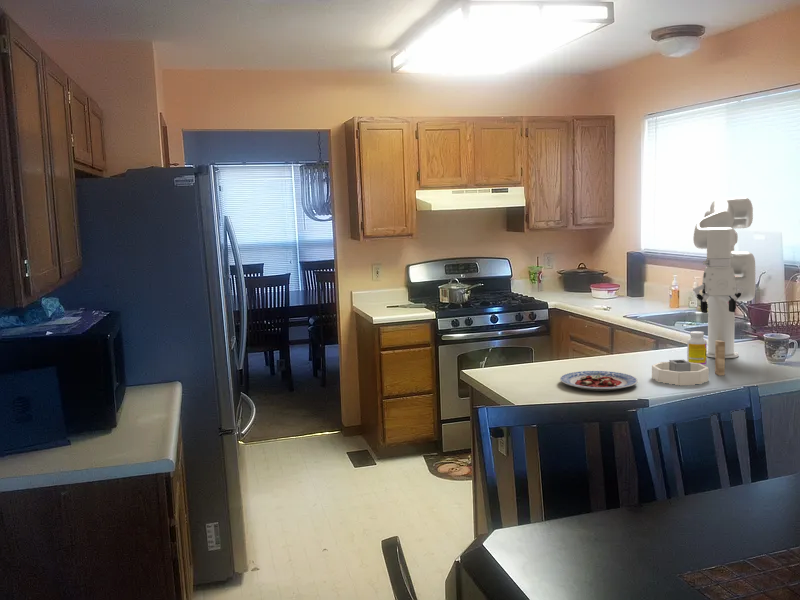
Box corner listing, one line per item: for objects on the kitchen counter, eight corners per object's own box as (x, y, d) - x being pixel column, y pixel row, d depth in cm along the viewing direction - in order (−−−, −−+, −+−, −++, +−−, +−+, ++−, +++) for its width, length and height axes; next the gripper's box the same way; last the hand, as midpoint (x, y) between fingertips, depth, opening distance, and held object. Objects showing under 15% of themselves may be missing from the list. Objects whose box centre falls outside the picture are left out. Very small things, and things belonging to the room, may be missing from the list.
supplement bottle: (708, 367, 250) (708, 333, 249) (689, 367, 252) (689, 333, 250) (704, 363, 257) (704, 330, 255) (685, 363, 258) (685, 330, 257)
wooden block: (715, 373, 241) (715, 340, 239) (720, 373, 241) (721, 340, 239) (718, 375, 238) (719, 342, 236) (724, 375, 238) (724, 341, 236)
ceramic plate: (637, 396, 216) (637, 387, 216) (555, 392, 225) (555, 383, 225) (638, 378, 240) (638, 370, 240) (564, 375, 249) (564, 367, 249)
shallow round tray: (647, 374, 244) (646, 357, 243) (694, 372, 243) (694, 355, 242) (664, 386, 227) (663, 367, 226) (715, 384, 226) (715, 365, 225)
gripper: (698, 264, 231) (698, 314, 233) (748, 263, 231) (748, 312, 233) (689, 264, 239) (688, 311, 240) (738, 262, 239) (737, 310, 240)
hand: (718, 312), depth 237 cm, fingers open, 9 cm apart
